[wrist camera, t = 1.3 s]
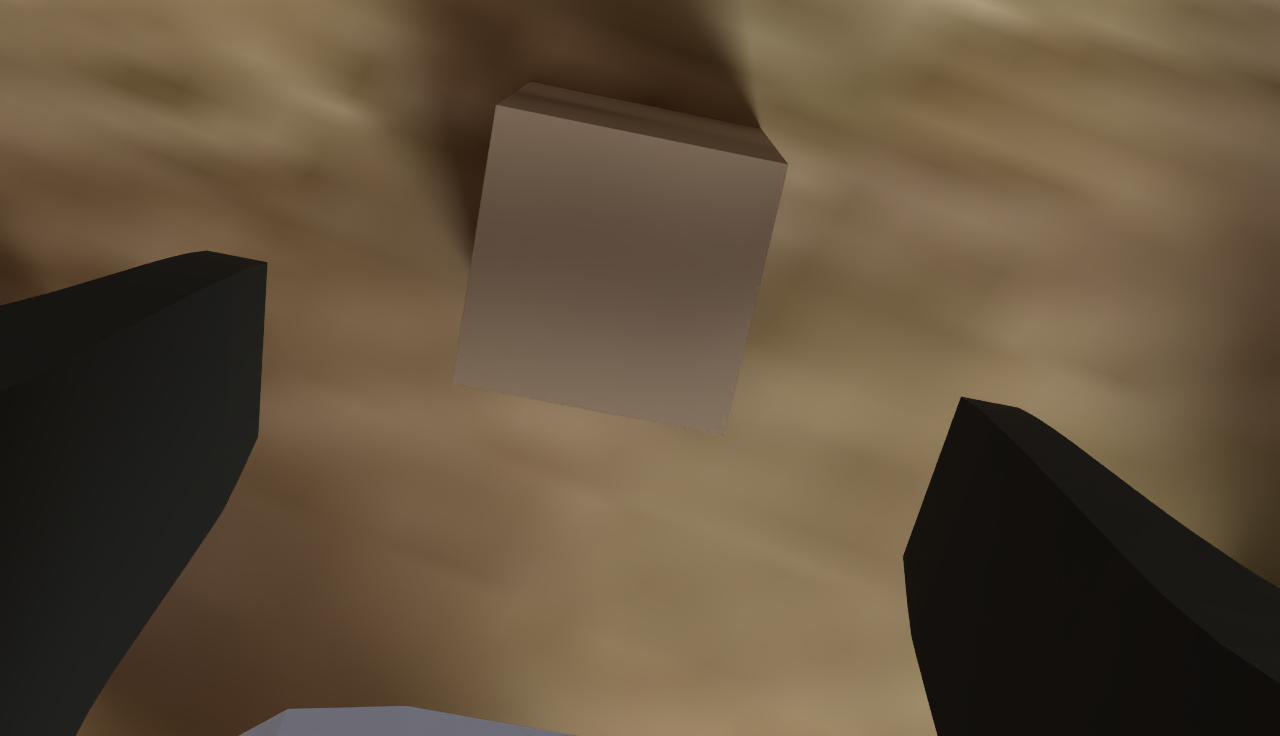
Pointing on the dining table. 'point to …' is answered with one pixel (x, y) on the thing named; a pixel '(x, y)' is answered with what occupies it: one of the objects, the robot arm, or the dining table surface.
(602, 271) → the walnut block
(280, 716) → the robot arm
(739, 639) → the dining table surface
